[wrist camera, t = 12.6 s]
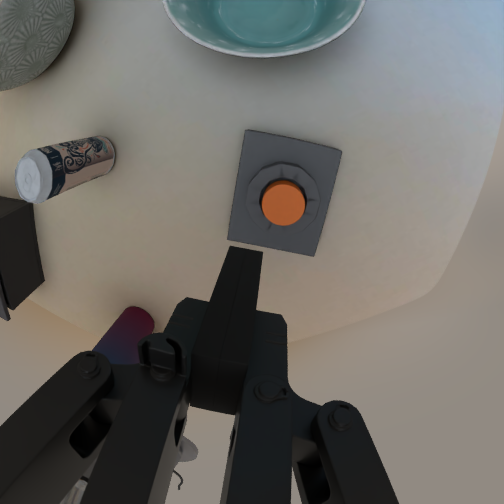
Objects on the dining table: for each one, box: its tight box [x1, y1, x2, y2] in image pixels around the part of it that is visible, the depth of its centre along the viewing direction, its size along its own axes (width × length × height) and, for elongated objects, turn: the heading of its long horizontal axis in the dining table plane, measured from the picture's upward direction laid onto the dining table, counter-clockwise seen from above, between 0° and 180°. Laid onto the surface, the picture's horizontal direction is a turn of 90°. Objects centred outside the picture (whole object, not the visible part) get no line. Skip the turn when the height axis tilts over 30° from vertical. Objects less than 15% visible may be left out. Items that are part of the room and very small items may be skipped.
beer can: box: [15, 136, 115, 204], centre depth 22 cm, size 5×5×12 cm
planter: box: [0, 0, 75, 91], centre depth 13 cm, size 17×17×15 cm
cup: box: [92, 307, 154, 364], centre depth 31 cm, size 7×7×15 cm
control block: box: [227, 130, 342, 257], centre depth 26 cm, size 11×9×4 cm
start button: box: [262, 180, 305, 226], centre depth 24 cm, size 4×4×2 cm
